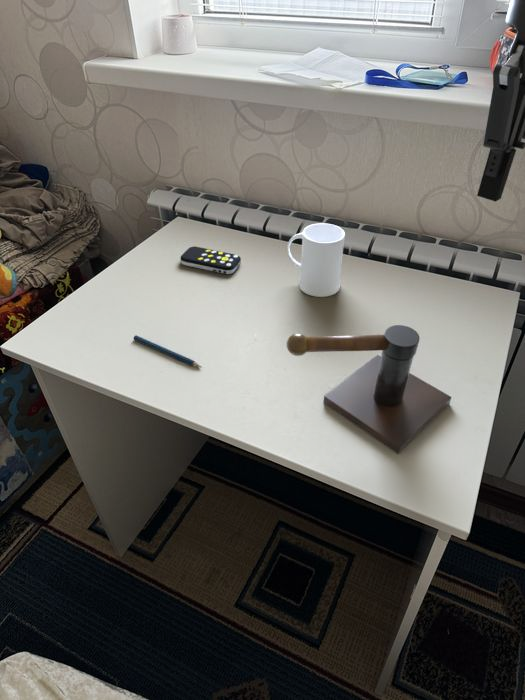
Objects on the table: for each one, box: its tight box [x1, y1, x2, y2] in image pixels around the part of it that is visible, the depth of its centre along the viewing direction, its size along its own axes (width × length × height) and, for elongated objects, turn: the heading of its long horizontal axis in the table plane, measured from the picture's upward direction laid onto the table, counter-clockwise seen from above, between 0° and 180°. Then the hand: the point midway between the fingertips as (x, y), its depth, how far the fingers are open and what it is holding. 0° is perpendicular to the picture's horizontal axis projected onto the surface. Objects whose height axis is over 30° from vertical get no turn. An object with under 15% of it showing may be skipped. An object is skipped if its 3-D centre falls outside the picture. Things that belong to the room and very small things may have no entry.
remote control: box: [179, 245, 242, 275], centre depth 111 cm, size 6×13×2 cm, turn 69°
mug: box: [286, 222, 346, 298], centre depth 101 cm, size 12×8×12 cm
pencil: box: [133, 334, 202, 368], centre depth 88 cm, size 1×1×15 cm
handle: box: [286, 324, 421, 360], centre depth 71 cm, size 18×5×3 cm, turn 92°
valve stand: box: [323, 350, 452, 455], centre depth 76 cm, size 14×14×11 cm
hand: (488, 196), depth 69 cm, fingers closed
